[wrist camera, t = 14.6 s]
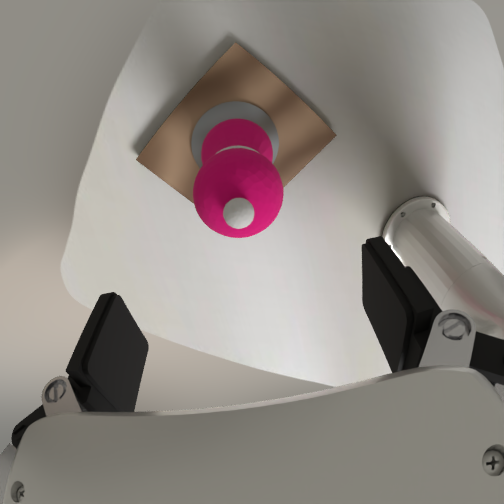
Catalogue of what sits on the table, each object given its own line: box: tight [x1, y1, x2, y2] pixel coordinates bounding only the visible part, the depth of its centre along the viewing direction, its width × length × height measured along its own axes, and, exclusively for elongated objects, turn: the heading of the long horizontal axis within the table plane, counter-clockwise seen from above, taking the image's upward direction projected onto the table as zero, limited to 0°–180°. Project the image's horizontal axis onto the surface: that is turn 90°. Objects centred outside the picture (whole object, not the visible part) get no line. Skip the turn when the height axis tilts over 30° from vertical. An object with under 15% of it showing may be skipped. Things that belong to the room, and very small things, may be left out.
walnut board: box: [136, 43, 337, 203], centre depth 35 cm, size 16×18×2 cm
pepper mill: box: [193, 119, 283, 238], centre depth 25 cm, size 7×7×20 cm
